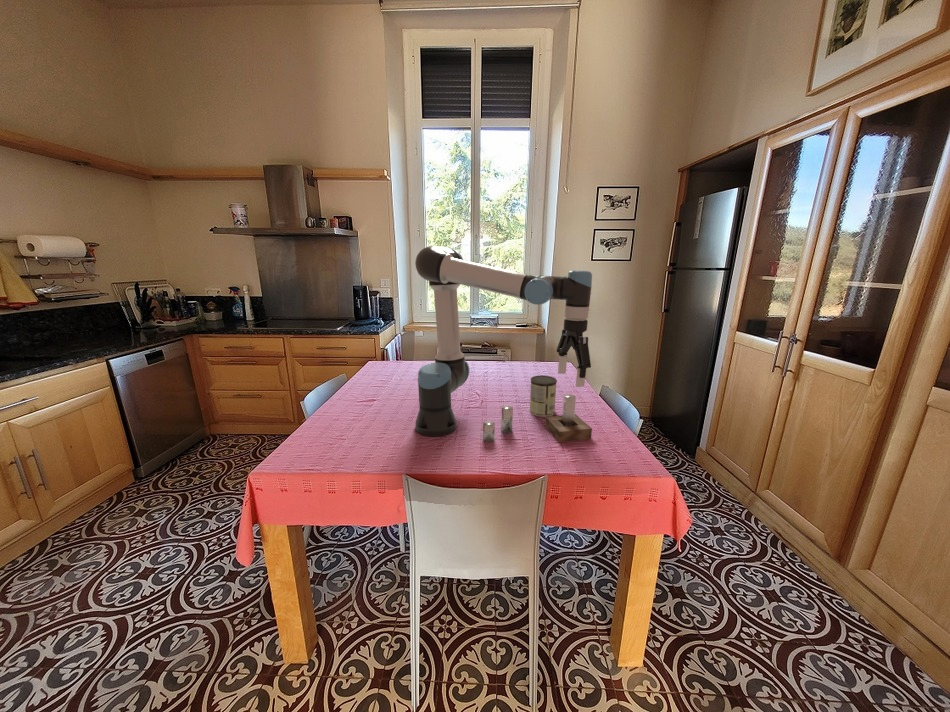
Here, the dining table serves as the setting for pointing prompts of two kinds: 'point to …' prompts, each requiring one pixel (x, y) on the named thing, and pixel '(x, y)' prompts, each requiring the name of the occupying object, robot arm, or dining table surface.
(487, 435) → the short pin
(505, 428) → the medium pin
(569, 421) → the long pin
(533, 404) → the coffee can
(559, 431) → the hole block
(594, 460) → the dining table surface
